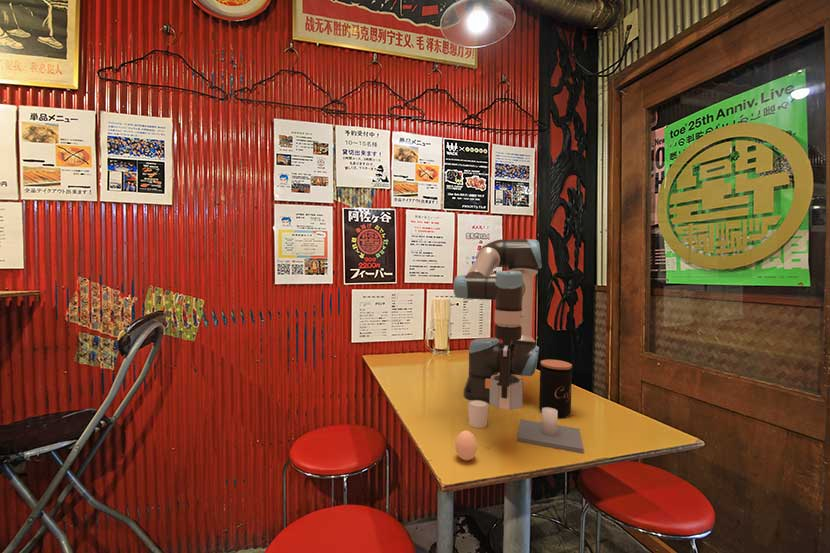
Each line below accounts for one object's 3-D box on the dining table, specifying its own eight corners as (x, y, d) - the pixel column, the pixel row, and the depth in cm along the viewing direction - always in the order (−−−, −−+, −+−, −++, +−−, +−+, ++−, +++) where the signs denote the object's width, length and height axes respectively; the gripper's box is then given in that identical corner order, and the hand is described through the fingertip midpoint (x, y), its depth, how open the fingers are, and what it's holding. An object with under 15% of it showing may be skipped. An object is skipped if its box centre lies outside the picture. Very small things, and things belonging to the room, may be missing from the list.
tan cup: (465, 420, 120) (465, 399, 120) (485, 419, 121) (485, 399, 121) (470, 429, 113) (470, 407, 113) (491, 428, 114) (491, 407, 114)
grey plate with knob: (516, 441, 106) (517, 413, 106) (520, 422, 119) (520, 398, 119) (583, 453, 100) (584, 424, 100) (579, 432, 113) (579, 406, 113)
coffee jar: (556, 421, 121) (557, 368, 121) (532, 409, 131) (533, 361, 130) (577, 415, 126) (578, 365, 126) (553, 405, 136) (554, 358, 135)
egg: (452, 462, 94) (453, 433, 93) (457, 452, 99) (458, 425, 99) (474, 467, 91) (475, 437, 91) (478, 456, 97) (479, 428, 97)
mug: (482, 405, 100) (483, 381, 100) (487, 394, 109) (488, 372, 109) (521, 411, 97) (521, 386, 97) (523, 400, 105) (523, 376, 105)
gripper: (518, 332, 90) (516, 419, 91) (524, 320, 111) (522, 391, 111) (489, 330, 93) (487, 414, 94) (499, 318, 113) (497, 388, 114)
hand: (506, 402), depth 103 cm, fingers closed on mug, 9 cm apart
